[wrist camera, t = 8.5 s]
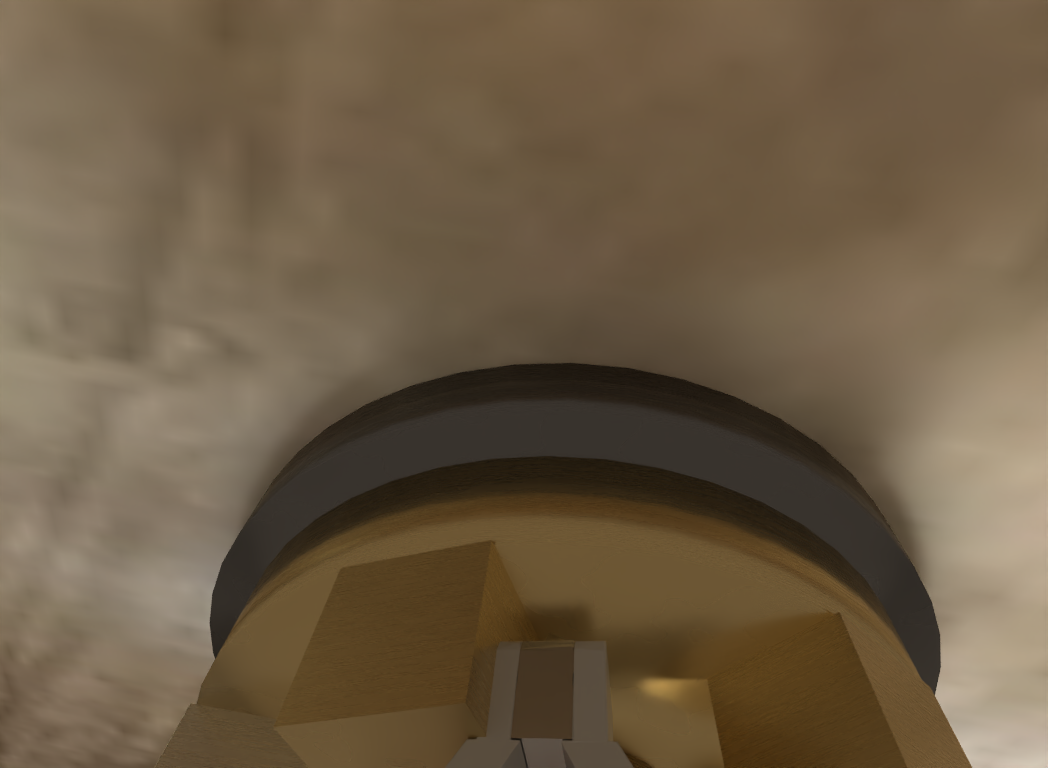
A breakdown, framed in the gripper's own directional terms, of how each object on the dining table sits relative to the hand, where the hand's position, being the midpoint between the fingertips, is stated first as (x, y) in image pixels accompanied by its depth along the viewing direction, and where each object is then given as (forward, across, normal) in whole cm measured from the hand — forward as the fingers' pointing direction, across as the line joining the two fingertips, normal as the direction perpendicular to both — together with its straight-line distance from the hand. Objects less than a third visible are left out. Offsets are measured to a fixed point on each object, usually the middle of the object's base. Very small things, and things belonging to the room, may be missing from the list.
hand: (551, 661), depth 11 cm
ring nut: (+4, -1, -8) cm, 8 cm away
